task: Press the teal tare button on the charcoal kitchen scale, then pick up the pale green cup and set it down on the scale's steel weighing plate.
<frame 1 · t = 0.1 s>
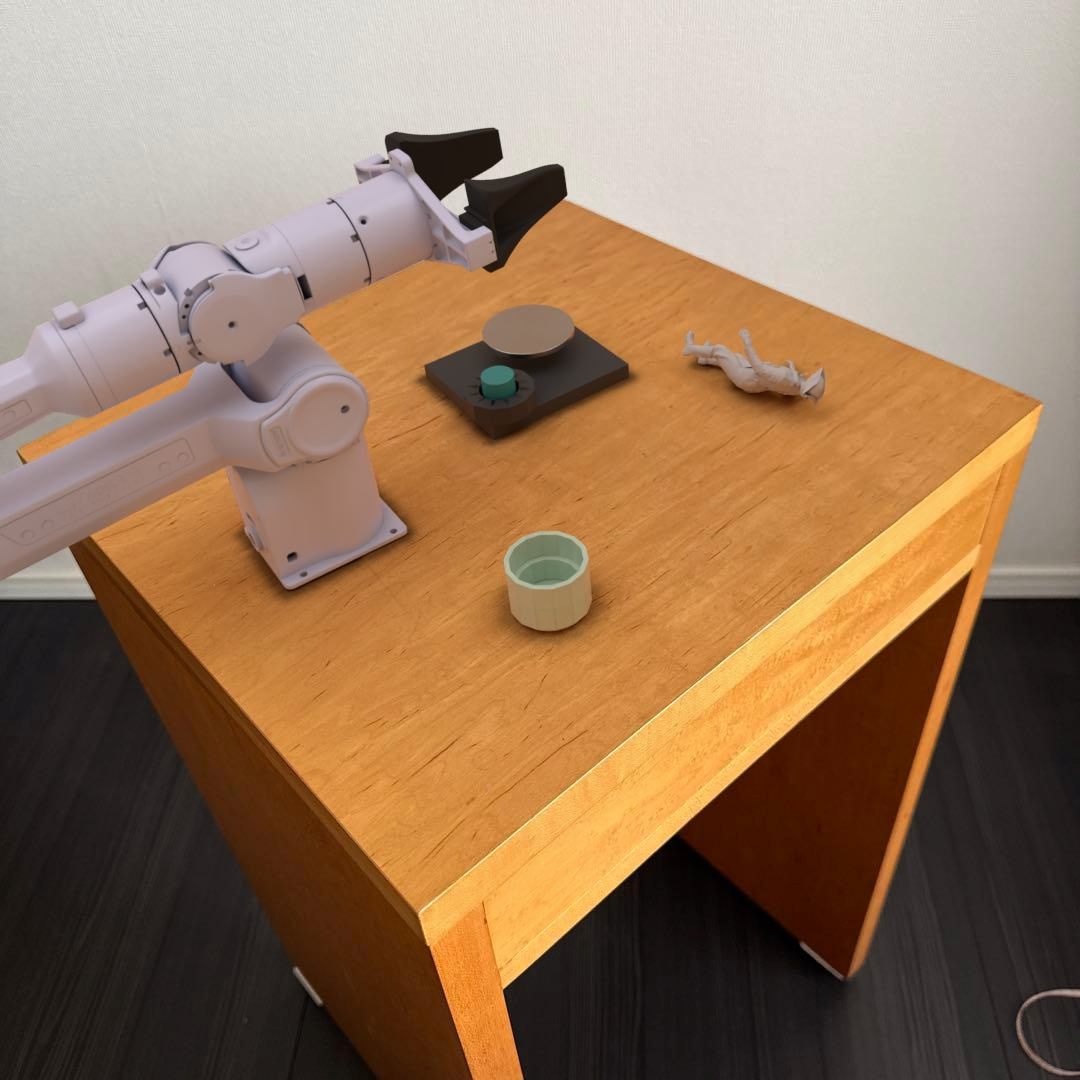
hand: (529, 160, 73), 22 cm above the table, tool horizontal, fingers open, 7 cm apart
soldier figure: (751, 390, 89), on the table
tare button: (498, 383, 87), point 3 cm above the table, slide at 0.1 cm
scale plate: (528, 333, 92), resting on scale
pale green cup: (551, 605, 73), on the table
scale: (526, 378, 93), on the table
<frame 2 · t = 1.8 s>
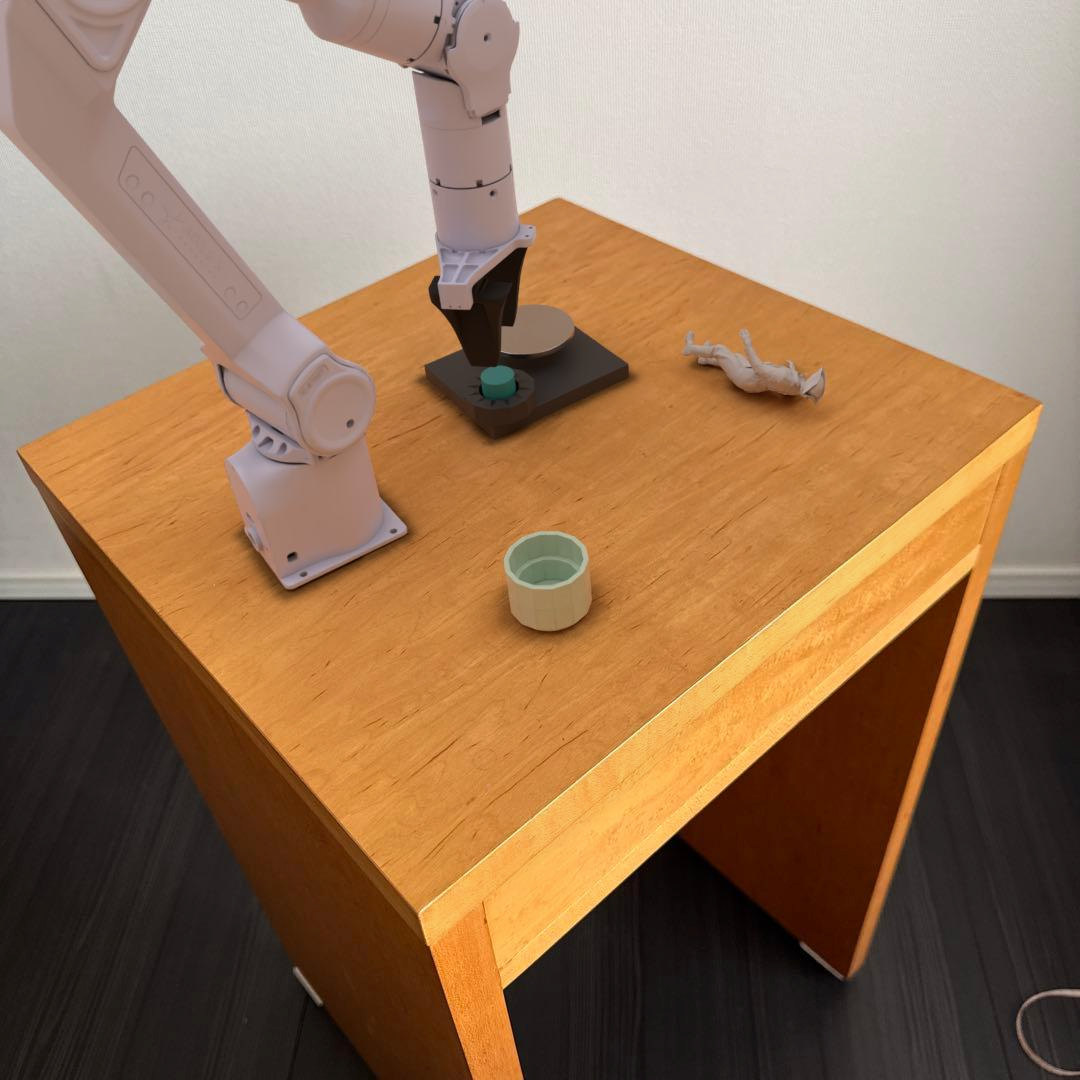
hand: (493, 343, 84), 7 cm above the table, tool pointing down, fingers open, 5 cm apart
nothing on the table moved.
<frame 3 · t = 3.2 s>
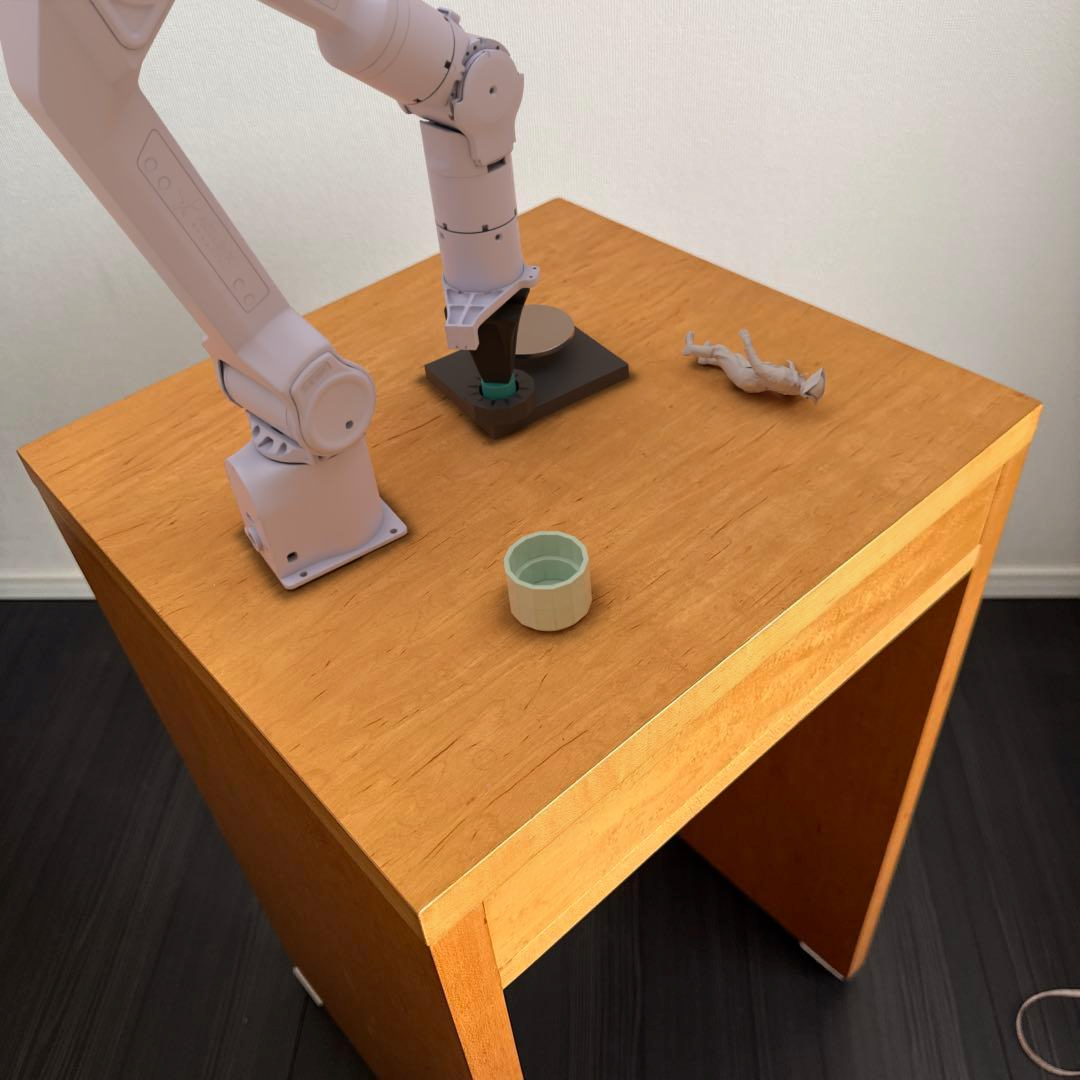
hand: (497, 378, 86), 4 cm above the table, tool pointing down, fingers closed, pressing on tare button
tare button: (498, 386, 87), point 3 cm above the table, slide at -0.2 cm, touching gripper
everything else where it was.
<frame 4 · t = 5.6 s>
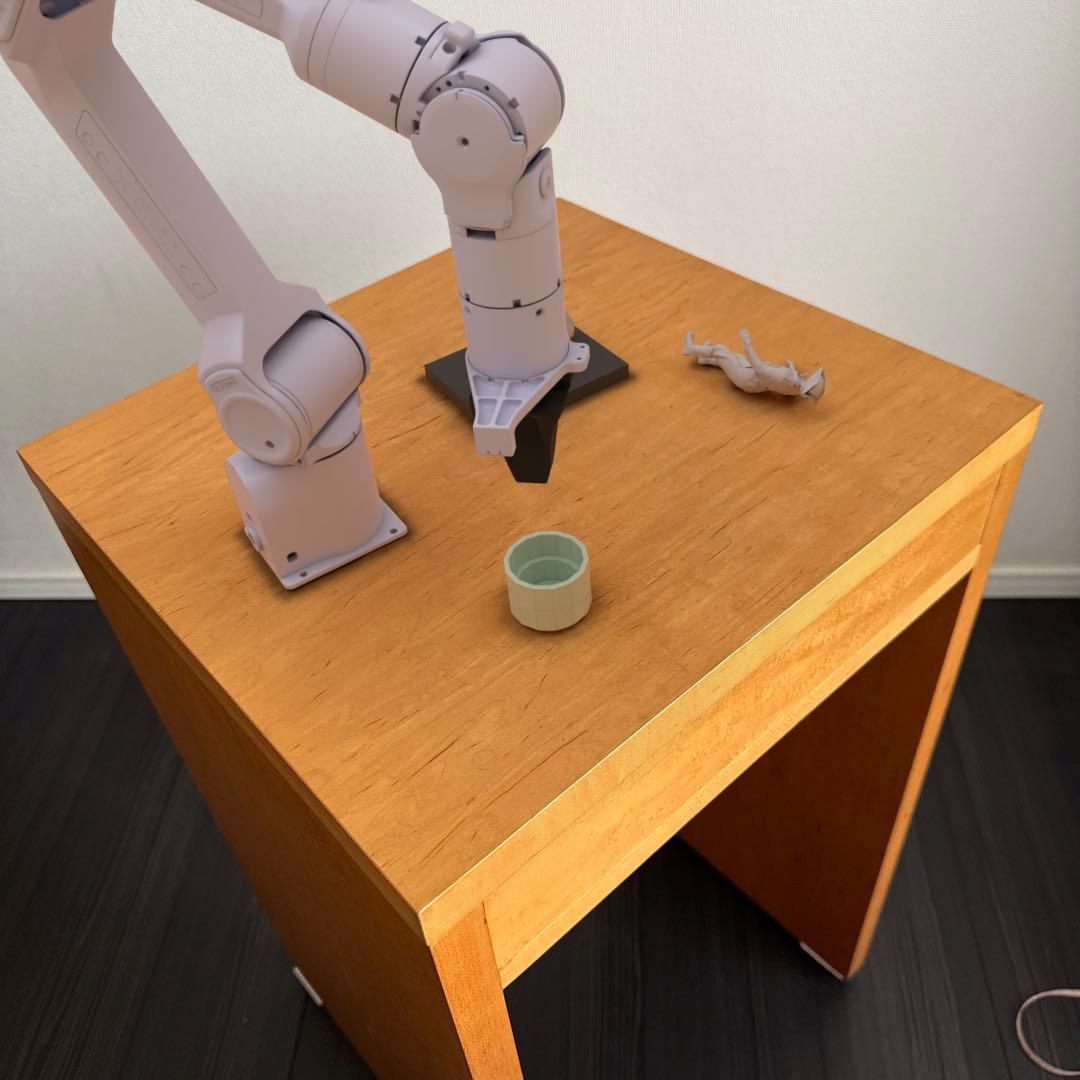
hand: (533, 476, 70), 8 cm above the table, tool pointing down, fingers closed
tare button: (498, 383, 87), point 3 cm above the table, slide at 0.1 cm
everything else where it was.
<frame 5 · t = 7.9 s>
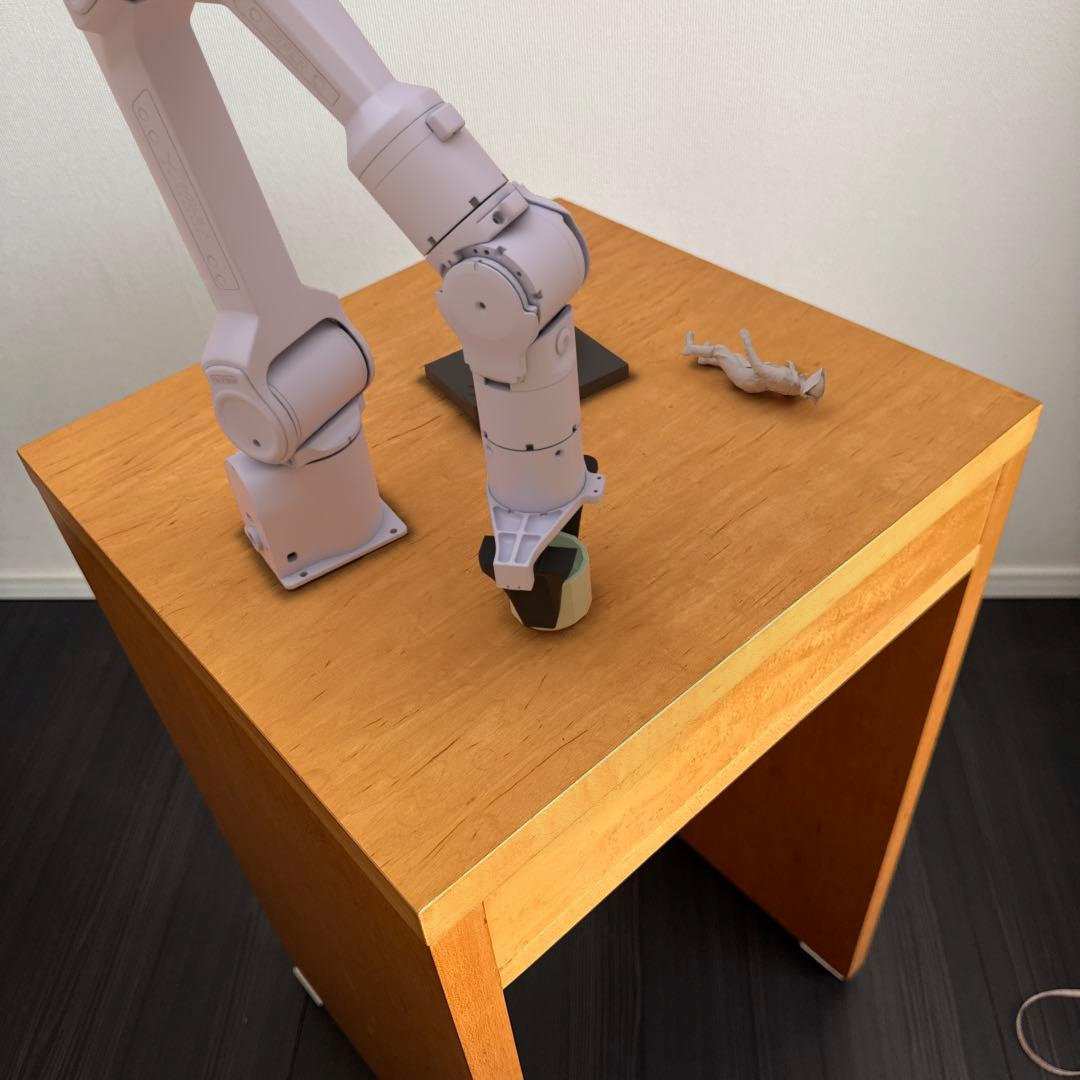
hand: (549, 590, 72), 1 cm above the table, tool pointing down, fingers closed on pale green cup, 5 cm apart
pale green cup: (551, 605, 73), on the table, touching gripper
everything else where it was.
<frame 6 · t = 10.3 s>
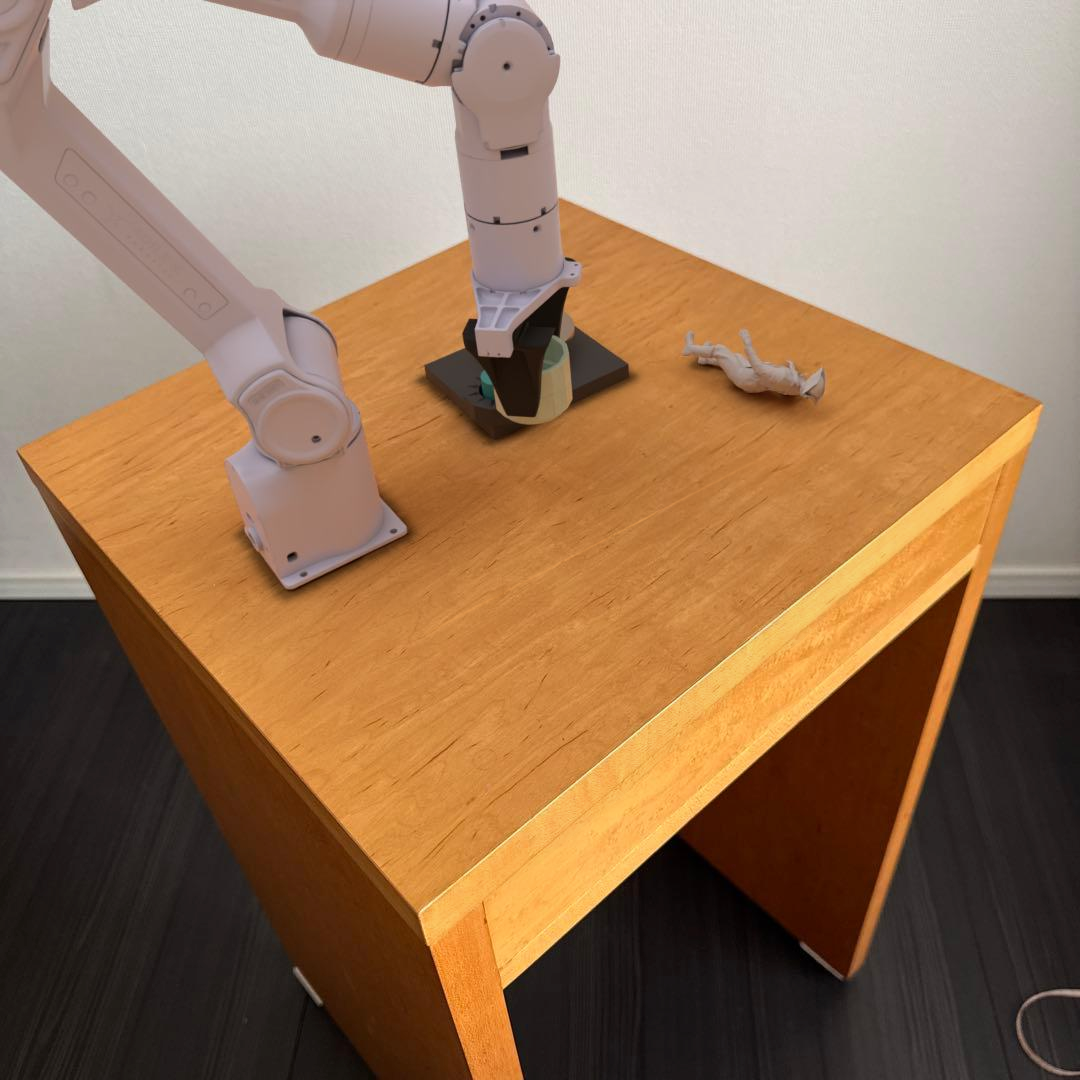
hand: (531, 388, 77), 8 cm above the table, tool pointing down, fingers closed on pale green cup, 5 cm apart
pale green cup: (534, 404, 78), point 7 cm above the table, touching gripper
everything else where it was.
when the fingers open (5 cm above the table, at t = 13.0 s): pale green cup stays where it is, resting on scale plate.
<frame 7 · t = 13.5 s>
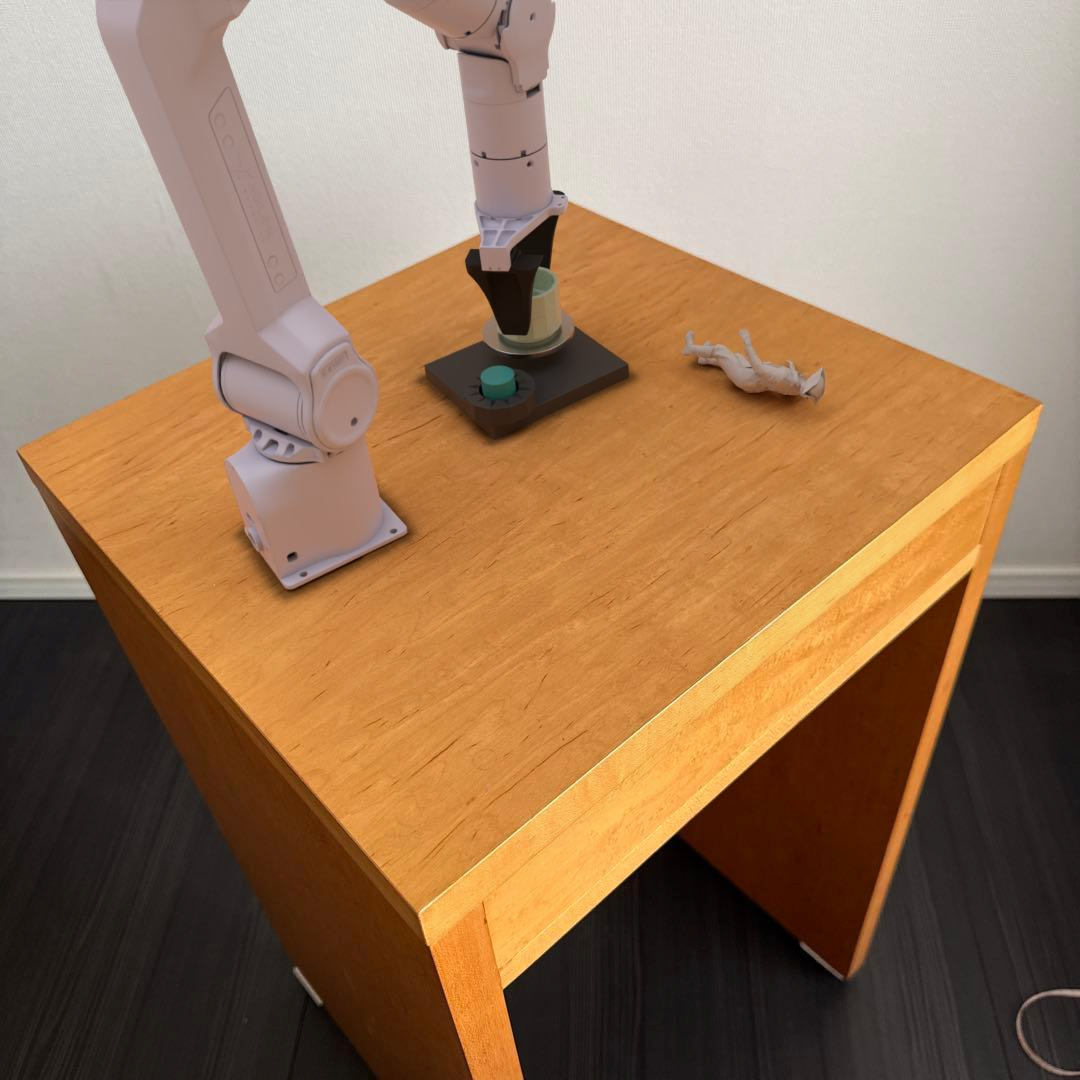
hand: (525, 307, 91), 5 cm above the table, tool pointing down, fingers open, 7 cm apart
pale green cup: (529, 328, 92), point 3 cm above the table, touching scale plate
everything else where it was.
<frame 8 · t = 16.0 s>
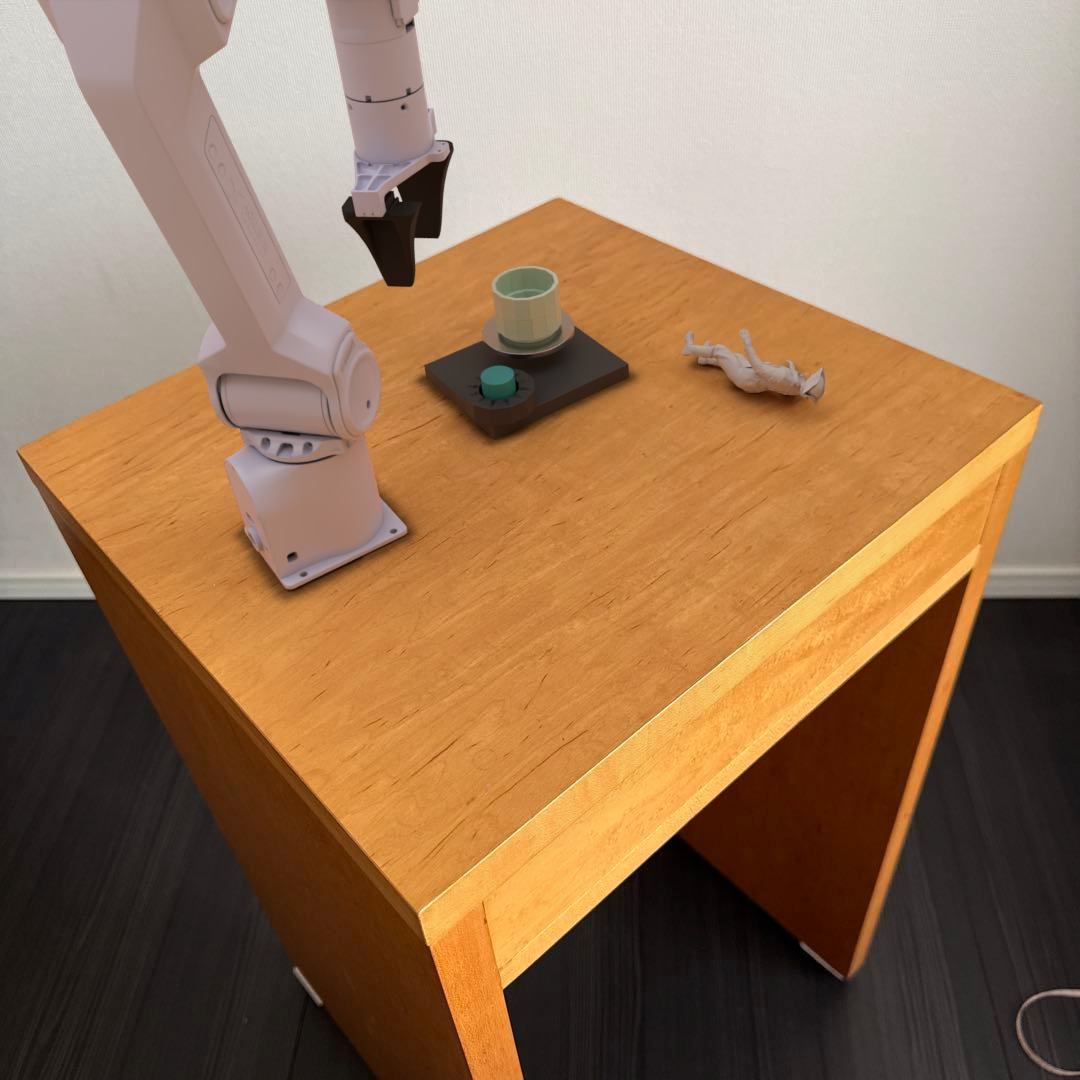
hand: (414, 259, 89), 10 cm above the table, tool pointing down, fingers open, 7 cm apart
nothing on the table moved.
at the end: tare button pushed in 1.0 cm at the most during the clip, back to where it started at the end; pale green cup 0.1 cm off-centre on the scale plate, point 0.5 cm above the scale plate's base; pale green cup tilted 0° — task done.
